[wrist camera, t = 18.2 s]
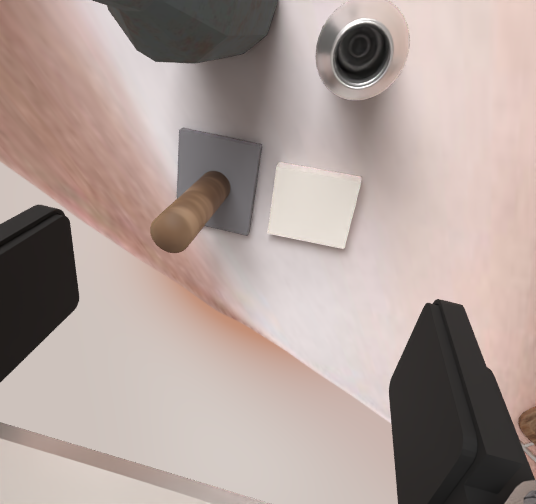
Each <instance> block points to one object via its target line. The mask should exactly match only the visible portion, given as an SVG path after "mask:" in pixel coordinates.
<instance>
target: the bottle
mask: <svg viewBox="0 0 536 504" xmlns="http://www.w3.org/2000/svg"><path fill="white" fill-rule="evenodd" d="M93 1H96V2H99V3H102V4H105V5H107V7H108V10H109V11H110V13H111V14H112V16H113V17H114V18H115V20H116V21H117V23H118V24H119V26H120V27H121V28H122V30H123V31H124V33H125V34H126V35H127V37H128V38H129V40H130V41H131V43H132V44H133V45H134V47H135V48H136V50H138V51H139V52H141V53H142V54H144V55H146V56H147V57H149V58H151V59H152V60H154V61H155V62H175V63H200V62H205V61H210V60H215V59H220V58H225V57H230V56H235V55H240V54H244V53H245V52H246V51H247V50H249V49H250V48H251V47H252V46H254V45H255V44H256V43H257V42H259V41H260V40H261V39H262V38H264V37H265V36H266V35H267V34H268V31H269V28H270V24H271V21H272V18H273V15H274V11H275V8H276V5H277V2H278V0H93Z"/></svg>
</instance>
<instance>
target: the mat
mask: <svg viewBox="0 0 536 504" xmlns="http://www.w3.org/2000/svg"><path fill="white" fill-rule="evenodd" d="M261 150H262V144H257V143H253V142H248V141H243V140H239V139H234V138H229V137H224V136H220V135H215V134H210V133H206V132H201V131H196V130H191V129H187V128H182V129H180V130H179V151H178V179H177V199H178V198H179V197H180V196H181V195H182V194H183V193H184V192H185V191H186V190H187V189H189V188H190V187H191V186H192V185H193V184H194V183H195V182H196V181H197V180H198V179H200V178H201V177H202V176H203V175H204V174H205V173H207V172H209V171H217V172H220V173H222V174H223V175H225V176H226V178H227V179H228V181H229V183H230V193H229V195H228V197H227V198H226V199H225V200H224V202H223V203H222V204H221V205H220V207H219V208H218V209H217V210H216V212H215V213H214V214H213V215H212V217H211V218H210V219H209V220H208V222H207V223H206V224H205V225H204V226H208V227H212V228H217V229H221V230H225V231H229V232H234V233H238V234H242V235H246V236H247V235H248V234H249V231H250V225H251V218H252V211H253V204H254V197H255V191H256V184H257V177H258V170H259V163H260V156H261Z"/></svg>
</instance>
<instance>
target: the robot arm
mask: <svg viewBox="0 0 536 504" xmlns="http://www.w3.org/2000/svg"><path fill="white" fill-rule="evenodd" d="M78 302H79V291H78V283H77V275H76V267H75V260H74V251H73V243H72V235H71V228H70V221H69V219H68V218H67V217H66V216H65V214H64V213H63V211H62V210H60V209H56V208H51V207H48V206H43V205H36V206H33V207H31V208H30V209H28V210H26V211H24V212H22V213H20V214H18V215H17V216H15V217H13V218H11V219H9V220H7V221H6V222H4V223H2V224H0V382H1V381H2V380H3V379H4V378H5V377H6V376H7V375H8V374H9V373H10V372H12V371H13V370H14V369H15V368H16V367H17V366H18V365H19V363H21V362H22V361H23V360H24V359H25V358H26V357H27V356H28V355H29V354H30V353H31V352H32V351H33V350H34V349H35V348H36V347H37V346H38V345H39V344H40V343H41V342H42V341H43V340H44V339H45V338H46V337H47V336H48V335H49V334H50V333H51V332H52V331H53V330H54V329H55V328H56V327H57V326H58V325H59V324H60V323H61V322H62V321H64V320H65V319H66V318H67V317H68V316H69V315H70V314H71V313H72V312H73V311H74V310H75V308H76V307H77V305H78ZM389 399H390V411H391V423H392V435H393V447H394V459H395V470H396V482H397V495H398V504H536V480H535V478H534V476H533V473H532V471H531V468H530V466H529V463H528V461H527V458H526V455H525V453H524V450H523V448H522V445H521V443H520V440H519V438H518V435H517V433H516V430H515V427H514V425H513V422H512V420H511V417H510V415H509V412H508V410H507V407H506V404H505V402H504V399H503V397H502V394H501V392H500V389H499V387H498V384H497V381H496V379H495V376H494V375H493V373H492V371H491V370H490V369H489V368H487V367H486V364H485V361H484V359H483V356H482V354H481V351H480V348H479V346H478V343H477V340H476V338H475V335H474V332H473V330H472V327H471V325H470V322H469V319H468V317H467V314H466V311H465V309H464V307H463V305H461V304H456V303H452V302H448V301H444V300H439V299H437V300H435V301H434V303H433V304H431V303H426V304H425V306H424V308H423V310H422V312H421V314H420V316H419V319H418V321H417V323H416V325H415V327H414V330H413V332H412V334H411V336H410V338H409V341H408V343H407V345H406V347H405V349H404V352H403V354H402V356H401V358H400V360H399V363H398V365H397V367H396V369H395V371H394V374H393V376H392V378H391V381H390V386H389ZM0 504H270V503H267V502H264V501H260V500H257V499H254V498H251V497H247V496H244V495H240V494H237V493H234V492H231V491H227V490H224V489H221V488H218V487H214V486H211V485H208V484H205V483H201V482H198V481H195V480H191V479H188V478H185V477H182V476H178V475H175V474H172V473H169V472H165V471H162V470H158V469H155V468H152V467H149V466H145V465H142V464H138V463H135V462H132V461H128V460H125V459H122V458H119V457H115V456H112V455H109V454H105V453H101V452H98V451H95V450H92V449H88V448H85V447H82V446H78V445H75V444H71V443H68V442H65V441H61V440H58V439H55V438H51V437H48V436H45V435H41V434H38V433H35V432H31V431H28V430H25V429H21V428H18V427H14V426H11V425H7V424H4V423H0Z"/></svg>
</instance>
